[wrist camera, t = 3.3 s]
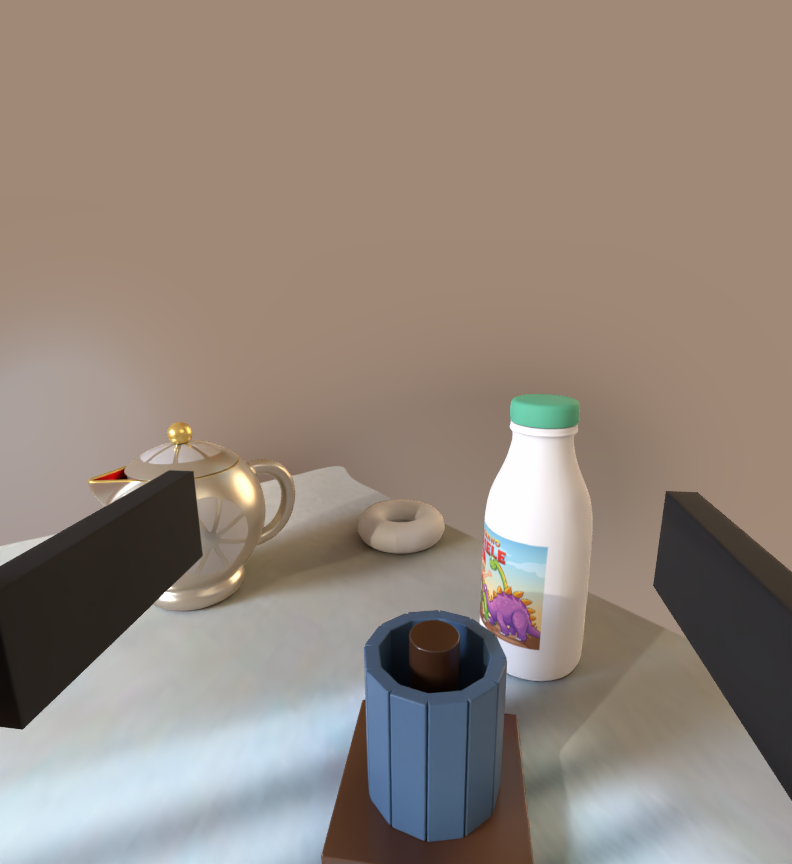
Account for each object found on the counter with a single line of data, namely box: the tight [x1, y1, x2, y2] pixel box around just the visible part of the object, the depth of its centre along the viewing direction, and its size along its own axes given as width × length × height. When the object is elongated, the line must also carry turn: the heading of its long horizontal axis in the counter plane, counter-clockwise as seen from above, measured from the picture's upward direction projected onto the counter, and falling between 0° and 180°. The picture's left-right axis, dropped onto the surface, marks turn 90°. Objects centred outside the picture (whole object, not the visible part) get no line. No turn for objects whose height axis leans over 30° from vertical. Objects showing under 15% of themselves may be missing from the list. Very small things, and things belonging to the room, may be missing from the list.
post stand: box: [321, 620, 534, 864], centre depth 28 cm, size 10×10×10 cm
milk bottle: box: [480, 394, 593, 681], centre depth 38 cm, size 8×8×20 cm
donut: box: [358, 499, 445, 553], centre depth 59 cm, size 10×4×10 cm
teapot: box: [88, 422, 295, 611], centre depth 48 cm, size 18×14×16 cm
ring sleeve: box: [364, 610, 507, 842], centre depth 28 cm, size 7×7×8 cm
